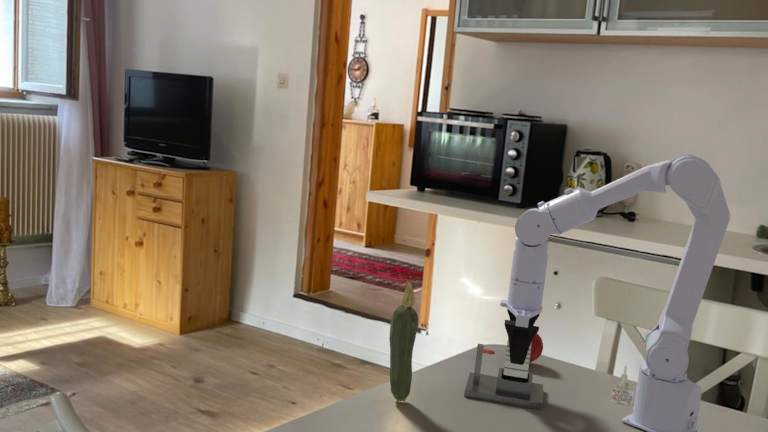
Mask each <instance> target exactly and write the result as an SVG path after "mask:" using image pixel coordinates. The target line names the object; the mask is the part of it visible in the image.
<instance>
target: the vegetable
mask: <svg viewBox="0 0 768 432" xmlns="http://www.w3.org/2000/svg"><path fill="white" fill-rule="evenodd" d="M415 303H416V297H415V292H414V290H413V284H412V283H411V282H410V281H409V280H407V281H406V285H405V289H404V292H403V295H402V299H401V304H402V305H399V306H398V307H397V308H396V309H394V311H393V313H392V316H391V319H390V325H389V326H390V327H389V339H388V340H389V351H390V352H389V353H390V354H389V355H390V356H389V358H390V359H389V383H390V392H391V394H392V396H393V398H394V399H395V400H396V401H397V403H399V402H406V401H407V398H408V397H409V395H410V393H411V387H412V381H413V380H412V379H413V378H412V377H413V367H412V366H413V365H412V362H413V351H414V346H415V341H416V337H417V332H418V328H419V327H418V326H419V317H418V313H417V311H416V310H415V309H414V308H413V306H414V305H415Z"/></svg>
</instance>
